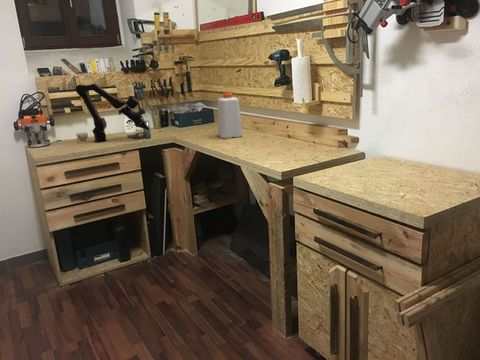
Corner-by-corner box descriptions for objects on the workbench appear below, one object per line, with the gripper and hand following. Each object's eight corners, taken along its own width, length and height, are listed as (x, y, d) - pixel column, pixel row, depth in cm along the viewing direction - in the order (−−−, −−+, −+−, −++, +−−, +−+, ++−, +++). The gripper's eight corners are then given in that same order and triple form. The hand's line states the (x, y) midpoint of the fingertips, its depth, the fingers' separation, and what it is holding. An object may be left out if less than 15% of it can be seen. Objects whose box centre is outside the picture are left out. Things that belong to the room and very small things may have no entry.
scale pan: (135, 135, 273) (135, 134, 273) (129, 134, 279) (129, 133, 279) (145, 133, 279) (145, 132, 278) (139, 132, 284) (139, 131, 284)
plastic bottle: (238, 133, 274) (236, 92, 265) (244, 137, 260) (242, 93, 251) (217, 135, 270) (214, 93, 262) (221, 139, 256) (219, 95, 248)
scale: (136, 139, 270) (135, 133, 269) (127, 137, 279) (126, 131, 278) (150, 136, 277) (149, 130, 276) (141, 134, 286) (140, 129, 285)
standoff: (146, 139, 269) (144, 121, 265) (143, 138, 272) (141, 121, 268) (152, 138, 272) (150, 120, 268) (148, 137, 275) (146, 120, 271)
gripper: (137, 106, 255) (156, 121, 261) (137, 103, 273) (155, 117, 278) (126, 119, 256) (146, 134, 262) (127, 115, 273) (145, 129, 279)
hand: (148, 128), depth 270 cm, fingers open, 6 cm apart
